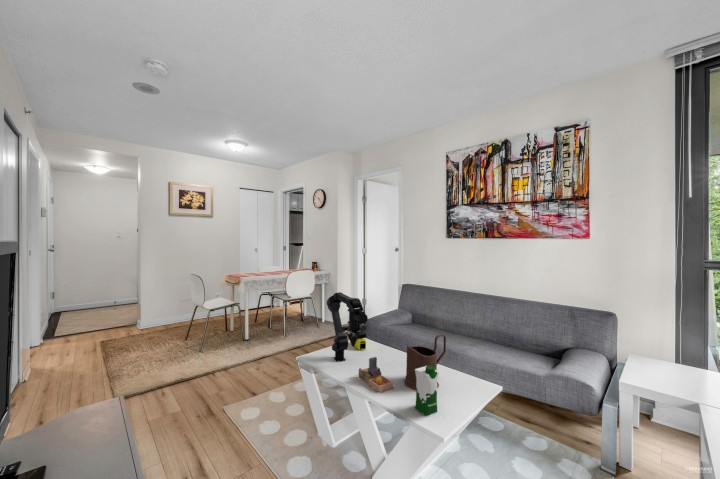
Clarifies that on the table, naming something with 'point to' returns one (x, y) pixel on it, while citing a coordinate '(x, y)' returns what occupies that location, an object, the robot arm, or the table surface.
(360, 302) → the robot arm
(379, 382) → the ball
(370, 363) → the plunger
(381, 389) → the pink square tray
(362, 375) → the track
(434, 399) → the milk carton
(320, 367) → the table surface
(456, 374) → the table surface
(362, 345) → the yellow toy chassis
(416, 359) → the brown pitcher
